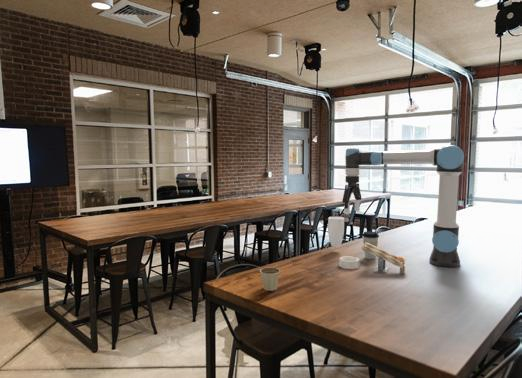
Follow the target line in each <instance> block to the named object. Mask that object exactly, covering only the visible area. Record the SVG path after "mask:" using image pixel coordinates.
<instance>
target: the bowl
mask: <svg viewBox="0 0 522 378" xmlns="http://www.w3.org/2000/svg"><path fill="white" fill-rule="evenodd" d="M338 261H339V262H338V263H339V265H338V266H339V267H341V268H342V269H347V270H354V269H355V270H356V269H359V267H360V258H358V257H356V256H349V255H348V256H347V255H346V256H341V257H340V258H339V259H338Z"/></svg>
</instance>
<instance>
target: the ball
mask: <svg viewBox="0 0 522 378" xmlns="http://www.w3.org/2000/svg"><path fill="white" fill-rule="evenodd" d="M397 257H398V258H397V260H398V261H401V262H404V260H405V258H404V257H403V256H397Z"/></svg>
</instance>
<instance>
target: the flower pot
mask: <svg viewBox="0 0 522 378" xmlns="http://www.w3.org/2000/svg"><path fill="white" fill-rule="evenodd" d="M259 272H260V276H261V279H262V287H263V290H265V291H271V292H273V291H277V289H278V283H279V275H280V274H281V273H280V272H281V269H280V268H278V267H274V266H273V267H272V266H271V267H263V268H260V269H259Z"/></svg>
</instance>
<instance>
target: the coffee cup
mask: <svg viewBox="0 0 522 378" xmlns="http://www.w3.org/2000/svg"><path fill="white" fill-rule="evenodd" d="M361 237H362V238H363V245H364V244H365V242H366V243H369V244H371V245H374V246H376V247H377V248H378V244H379V241H378V239H379V237H380V236H379V233H378V232H377V231H364V232H363V233H362V235H361ZM376 257H377V256H375V255H373V254H370V253H368V252H366V251H364V258H365V259H368V260H375V259H376Z"/></svg>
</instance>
